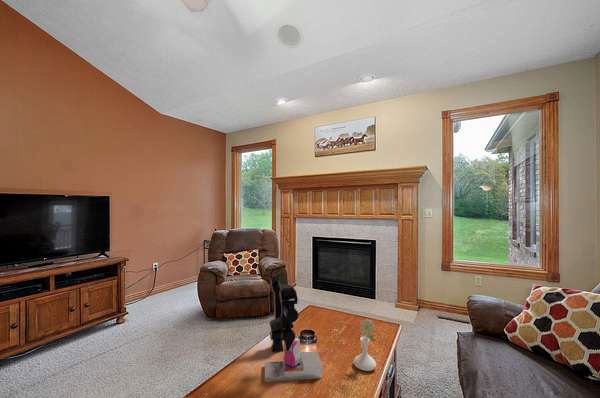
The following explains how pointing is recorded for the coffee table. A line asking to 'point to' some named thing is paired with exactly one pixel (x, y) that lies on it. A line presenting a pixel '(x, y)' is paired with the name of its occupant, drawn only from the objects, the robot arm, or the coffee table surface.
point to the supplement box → (292, 353)
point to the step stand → (295, 368)
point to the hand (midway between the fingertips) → (286, 345)
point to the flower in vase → (365, 347)
